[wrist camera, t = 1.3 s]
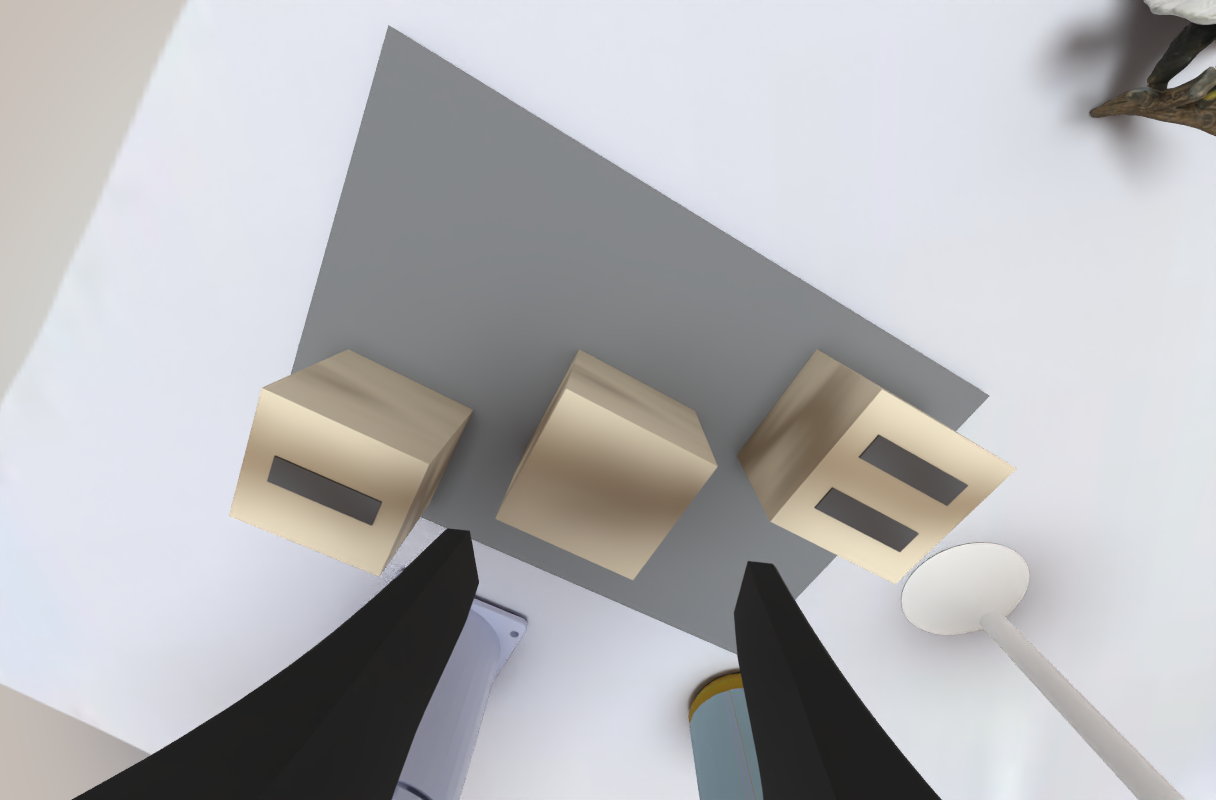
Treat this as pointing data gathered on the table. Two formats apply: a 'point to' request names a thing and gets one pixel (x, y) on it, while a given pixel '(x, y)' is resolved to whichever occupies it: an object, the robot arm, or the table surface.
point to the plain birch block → (608, 468)
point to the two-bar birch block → (864, 470)
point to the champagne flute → (1017, 645)
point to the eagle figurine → (1199, 103)
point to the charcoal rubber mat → (576, 322)
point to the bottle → (724, 742)
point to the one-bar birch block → (346, 458)
